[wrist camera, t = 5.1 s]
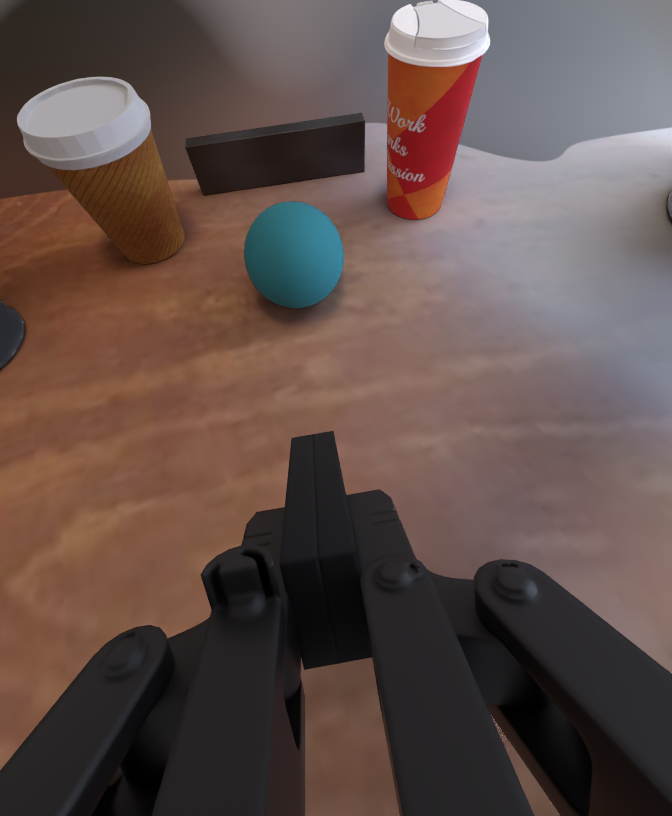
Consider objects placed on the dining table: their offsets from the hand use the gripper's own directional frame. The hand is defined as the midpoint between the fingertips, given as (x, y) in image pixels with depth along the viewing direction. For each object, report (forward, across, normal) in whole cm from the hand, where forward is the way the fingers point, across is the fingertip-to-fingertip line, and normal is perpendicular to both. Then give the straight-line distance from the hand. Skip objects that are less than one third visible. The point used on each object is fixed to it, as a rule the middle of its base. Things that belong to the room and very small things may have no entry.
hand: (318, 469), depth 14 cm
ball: (+21, 0, -9) cm, 23 cm away
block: (+36, 0, -18) cm, 40 cm away
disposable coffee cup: (+31, +14, -13) cm, 36 cm away
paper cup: (+31, -13, -13) cm, 36 cm away
